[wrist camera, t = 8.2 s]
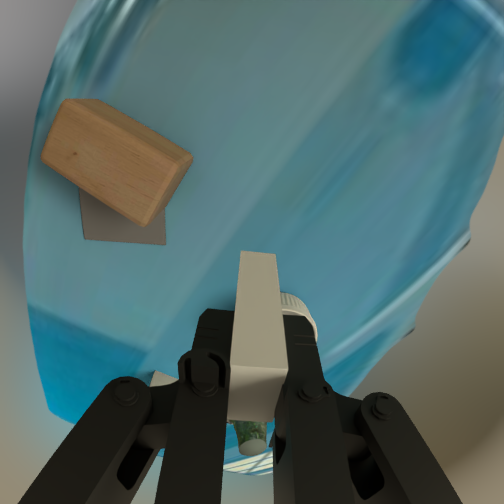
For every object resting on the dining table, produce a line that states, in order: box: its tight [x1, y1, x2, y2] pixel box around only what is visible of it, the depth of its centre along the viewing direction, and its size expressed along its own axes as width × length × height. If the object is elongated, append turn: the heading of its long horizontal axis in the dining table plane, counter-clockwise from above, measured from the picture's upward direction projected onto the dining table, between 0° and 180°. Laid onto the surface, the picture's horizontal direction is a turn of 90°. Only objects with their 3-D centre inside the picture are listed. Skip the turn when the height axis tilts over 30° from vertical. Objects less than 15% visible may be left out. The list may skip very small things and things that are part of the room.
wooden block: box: [41, 99, 193, 227], centre depth 38 cm, size 10×10×20 cm
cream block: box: [149, 370, 179, 387], centre depth 60 cm, size 4×7×10 cm, turn 63°
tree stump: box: [227, 416, 275, 456], centre depth 61 cm, size 18×20×18 cm
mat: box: [79, 187, 166, 245], centre depth 46 cm, size 16×16×1 cm
